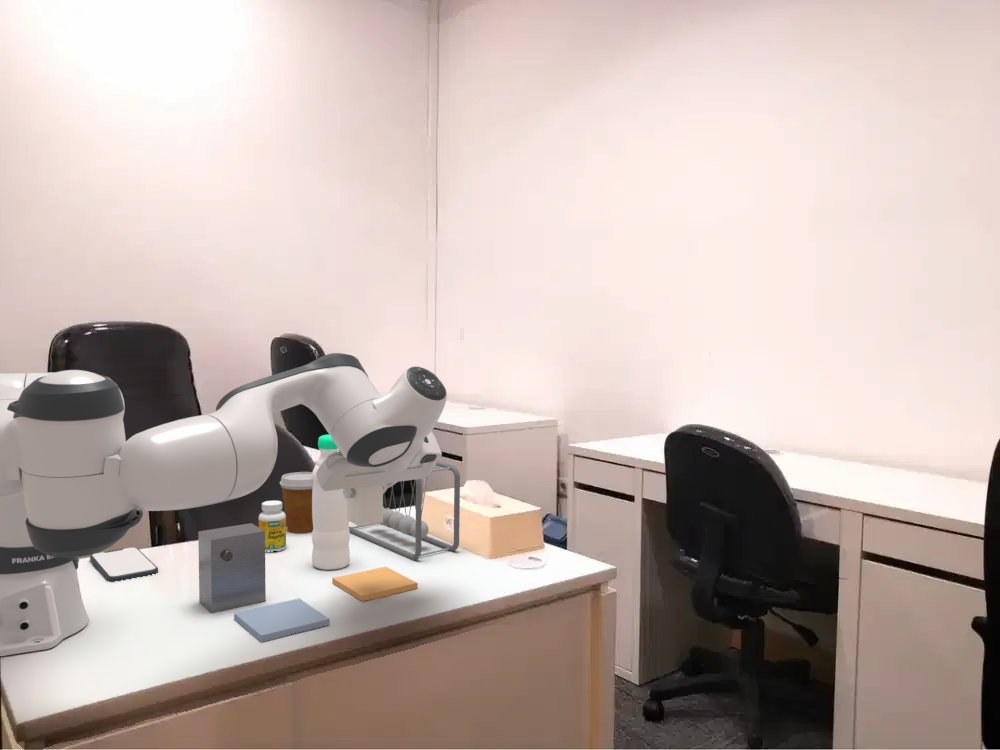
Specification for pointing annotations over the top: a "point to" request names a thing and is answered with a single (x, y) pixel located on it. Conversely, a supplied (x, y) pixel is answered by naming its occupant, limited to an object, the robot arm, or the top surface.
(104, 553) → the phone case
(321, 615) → the blue pad
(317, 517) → the water bottle
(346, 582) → the orange pad
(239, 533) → the control box
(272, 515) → the supplement bottle
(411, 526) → the newton's cradle
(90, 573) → the top surface
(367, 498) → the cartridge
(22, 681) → the top surface
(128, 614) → the top surface
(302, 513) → the disposable coffee cup
